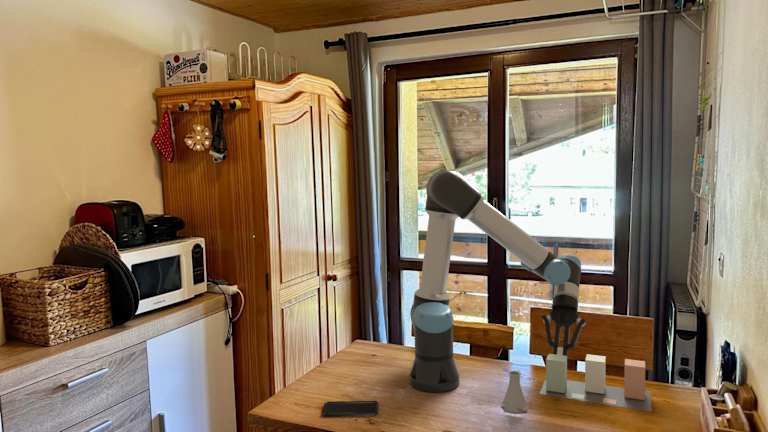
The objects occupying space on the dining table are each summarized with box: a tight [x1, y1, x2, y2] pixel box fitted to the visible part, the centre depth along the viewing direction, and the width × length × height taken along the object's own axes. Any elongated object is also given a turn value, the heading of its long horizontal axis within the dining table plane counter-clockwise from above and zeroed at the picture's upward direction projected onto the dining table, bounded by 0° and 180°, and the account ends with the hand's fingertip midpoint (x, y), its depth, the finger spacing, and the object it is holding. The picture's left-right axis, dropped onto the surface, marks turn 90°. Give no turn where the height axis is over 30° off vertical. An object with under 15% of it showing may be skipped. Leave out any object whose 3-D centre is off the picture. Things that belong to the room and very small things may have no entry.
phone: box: [321, 400, 379, 418], centre depth 142 cm, size 8×1×15 cm
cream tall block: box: [584, 353, 607, 394], centre depth 147 cm, size 5×5×9 cm
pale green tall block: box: [545, 353, 568, 393], centre depth 149 cm, size 5×5×9 cm
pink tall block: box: [623, 358, 646, 400], centre depth 143 cm, size 5×5×9 cm
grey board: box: [539, 378, 652, 412], centre depth 146 cm, size 28×13×2 cm, turn 64°
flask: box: [500, 370, 528, 415], centre depth 141 cm, size 7×7×10 cm
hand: (558, 369), depth 152 cm, fingers closed
